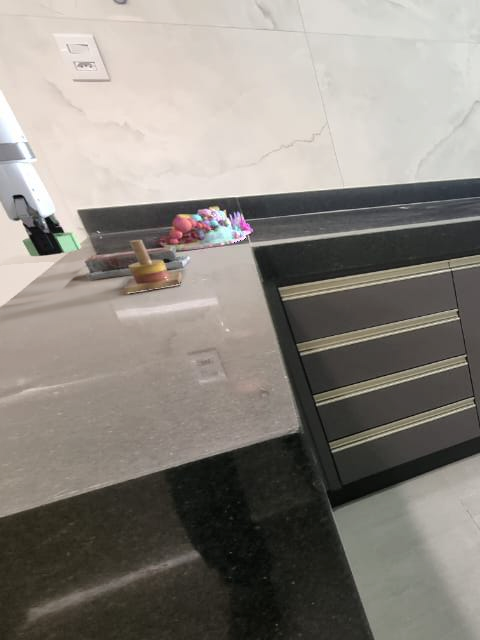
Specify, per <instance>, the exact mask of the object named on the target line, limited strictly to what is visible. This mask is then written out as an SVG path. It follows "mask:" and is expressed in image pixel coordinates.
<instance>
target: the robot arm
mask: <svg viewBox="0 0 480 640" xmlns="http://www.w3.org/2000/svg"><path fill="white" fill-rule="evenodd" d="M32 162H38V159H37V157H36V154H35V153H34V151H33V149H32V147H31V145H30V143H29V142H28V138H26V135H25V134H24V131H23V130H22V128H21V126H20V124H19V123H18V120H17V118H16V116H15V114H14V112H13V111H12V109H11V107H10V105H9V103H8V101H7V98H6V97H5V95H4V93H3V91H2V90H1V89H0V203H1V206H2V208H3V210H4V212H5V213H6V216H7V217H8V219H9V220H10V221H13V222H18V221H21V222H22V226H23V228H24V230H25V232H26V234H27V236H28V238H30V239H31V241H32V243H33V245H34V247H35V248H36V250H37V252H38V254H39V255H40V256H39V257H46V256H45V255H47V256H52V255H53V254H54V255H60V253H61V254H63V253H62V249H61V247H60V245H59V243H58V242H57V240H56V238H55V236H54V234H56V233H66V232H65V229H63V226H62V225H61V224H60V223H61V222H59V220H58V219H57V217H56V215H55V212H56V211H57V210H56V207H55V205H54V201H53V200H52V198H51V196H50V194H49V192H48V190H47V189H46V187H45V185H44V183H43V181H42V180H41V178H40V176H39V174H38V172H37V170H36V169H35V167H34V166H33V164H32ZM54 255H53V256H54Z"/></svg>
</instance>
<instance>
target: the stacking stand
mask: <svg viewBox="0 0 480 640" xmlns="http://www.w3.org/2000/svg"><path fill="white" fill-rule="evenodd" d="M129 244H130V246H131V248H132V251H134V253H135V255H136V257H137V259H138V261H139V262H138V263H134V264H131V265H129V266H128V267H129V269H130V271H131V273H132V275H131V276H132V277H133V278H129V279H128V281H127V282H126V283H125V285H124V287H123V290H124V292H125V294H126V293H128V292H136V291H141V290H149V289H155V288H161V287H166V286H171V285H176V284H180V282H181V279H182V280H183V278H182V277H183V274H182V273H181V271H180V270H178V271H177V270H176V271H172V272H169V271H168V269H166V266H165V264H164V262H163V260H151V259H150V257H149V255H148V253H147V250H146V249H147V248H146V246H145V244H144V242H143V239H133V240H130V241H129ZM181 283H182V282H181Z"/></svg>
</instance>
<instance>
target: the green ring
mask: <svg viewBox="0 0 480 640" xmlns="http://www.w3.org/2000/svg"><path fill="white" fill-rule="evenodd" d="M54 236H55V238H56V240H57V242H58V243H59V245H60V247H61V249H62V253H60V254H66V253H70V252H75V251H78V250H81V249H82V245H81V243H80V242H79V239H78V238H77V235H76V234H75V232H65V233H56V234H54ZM22 243H23V245H24V246H25V248H26V250H27V252H28V255H30V256H31V257H41V256H40V255H39V254H38V252H37V250H36V248H35V247H34V245H33V243H32V241H31V239H30V238H29V237H27V238H24V239H22ZM60 254H59V255H60ZM47 256H48V255H45V256H44V257H47ZM53 256H55V254H53Z"/></svg>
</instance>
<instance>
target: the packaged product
mask: <svg viewBox="0 0 480 640" xmlns="http://www.w3.org/2000/svg"><path fill="white" fill-rule="evenodd" d="M146 250H147V253H148V255H149V257H150V259H151V260H163V262H164V264H165V266H166V269H167V270H175V268H176V269H181V268H184V267H185V266H186V265H187V263H188V262H189V261H190V260H191V257H190V255H189V254H188V255H183V256H177V251H176V248H175V247H165V248H164V247H156V248H148V249H147V248H146ZM138 262H139V261H138V259H137V257H136V255H135V253H134V250H130V251H121V252H113V253H112V252H111V253H104V254H103V253H102V254H95V255H91V256H90V257H87V259H86V260H84V263H85V266H86V267H87V269H88V271H89V272H88V273H87V279H88V280H89V281H95V280H101V279H102V280H103V278H104V279H111V278H110V277H112V278H118V277H119V276H120V277H126V276H133V275H132V273H131V271H130V269H129V267H128V266H129V265H131V264H134V263H138Z"/></svg>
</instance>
